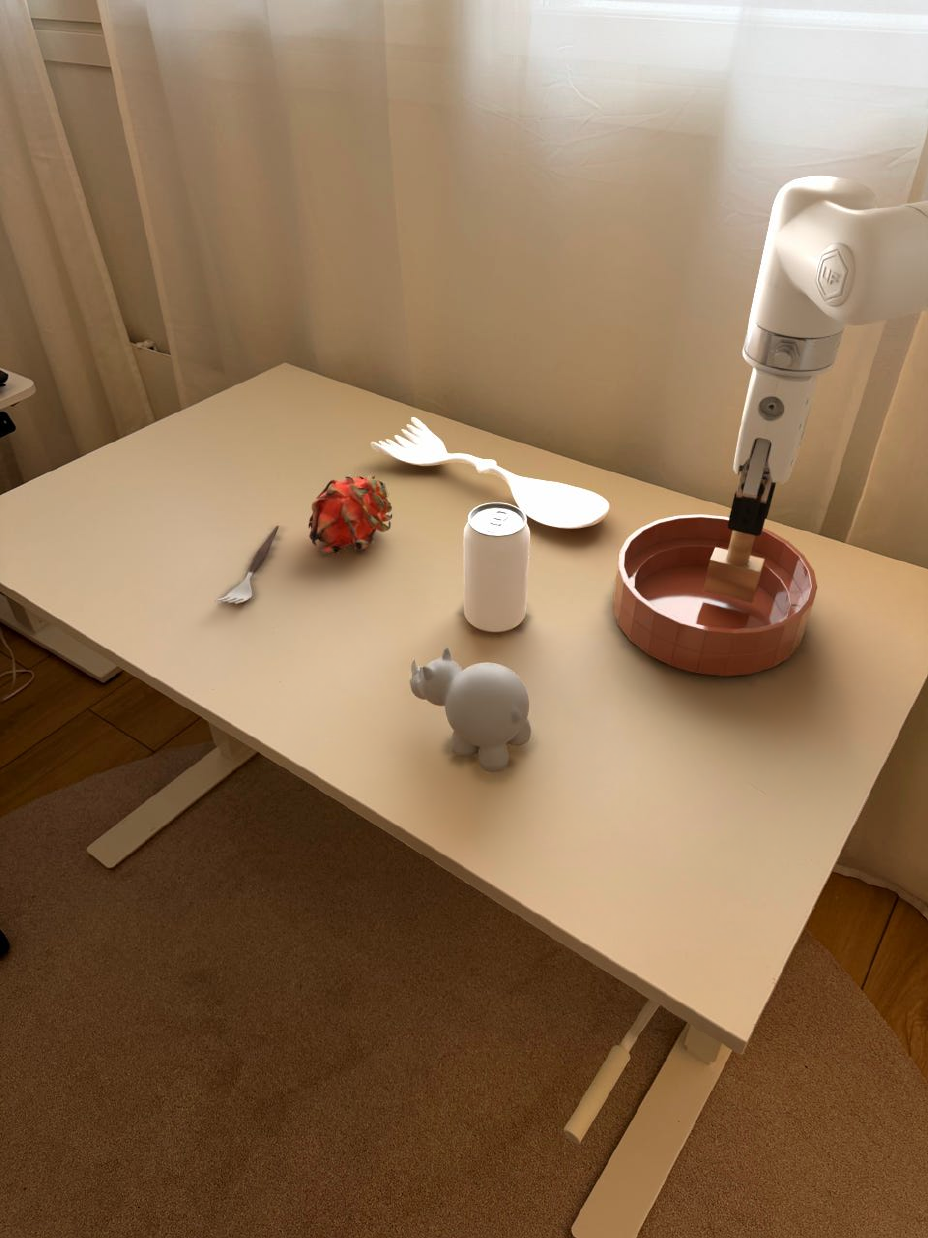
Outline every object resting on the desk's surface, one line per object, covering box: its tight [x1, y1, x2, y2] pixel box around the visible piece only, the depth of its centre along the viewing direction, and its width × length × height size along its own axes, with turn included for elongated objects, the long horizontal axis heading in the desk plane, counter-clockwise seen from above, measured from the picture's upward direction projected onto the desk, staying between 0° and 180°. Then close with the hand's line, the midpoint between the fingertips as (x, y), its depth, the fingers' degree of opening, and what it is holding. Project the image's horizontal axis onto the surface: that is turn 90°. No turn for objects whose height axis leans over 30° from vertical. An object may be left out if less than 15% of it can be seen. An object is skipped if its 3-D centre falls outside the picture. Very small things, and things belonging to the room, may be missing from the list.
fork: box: [214, 525, 280, 605], centre depth 98 cm, size 3×16×2 cm, turn 170°
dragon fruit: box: [308, 473, 393, 554], centre depth 101 cm, size 8×8×12 cm
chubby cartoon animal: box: [409, 646, 532, 773], centre depth 78 cm, size 7×12×8 cm, turn 51°
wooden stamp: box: [704, 479, 766, 603], centre depth 88 cm, size 5×2×14 cm, turn 66°
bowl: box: [612, 513, 818, 677], centre depth 91 cm, size 19×19×6 cm
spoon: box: [370, 416, 610, 529], centre depth 110 cm, size 9×32×4 cm, turn 53°
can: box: [462, 502, 531, 634], centre depth 89 cm, size 6×6×12 cm
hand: (747, 521), depth 87 cm, fingers closed on wooden stamp, 2 cm apart
